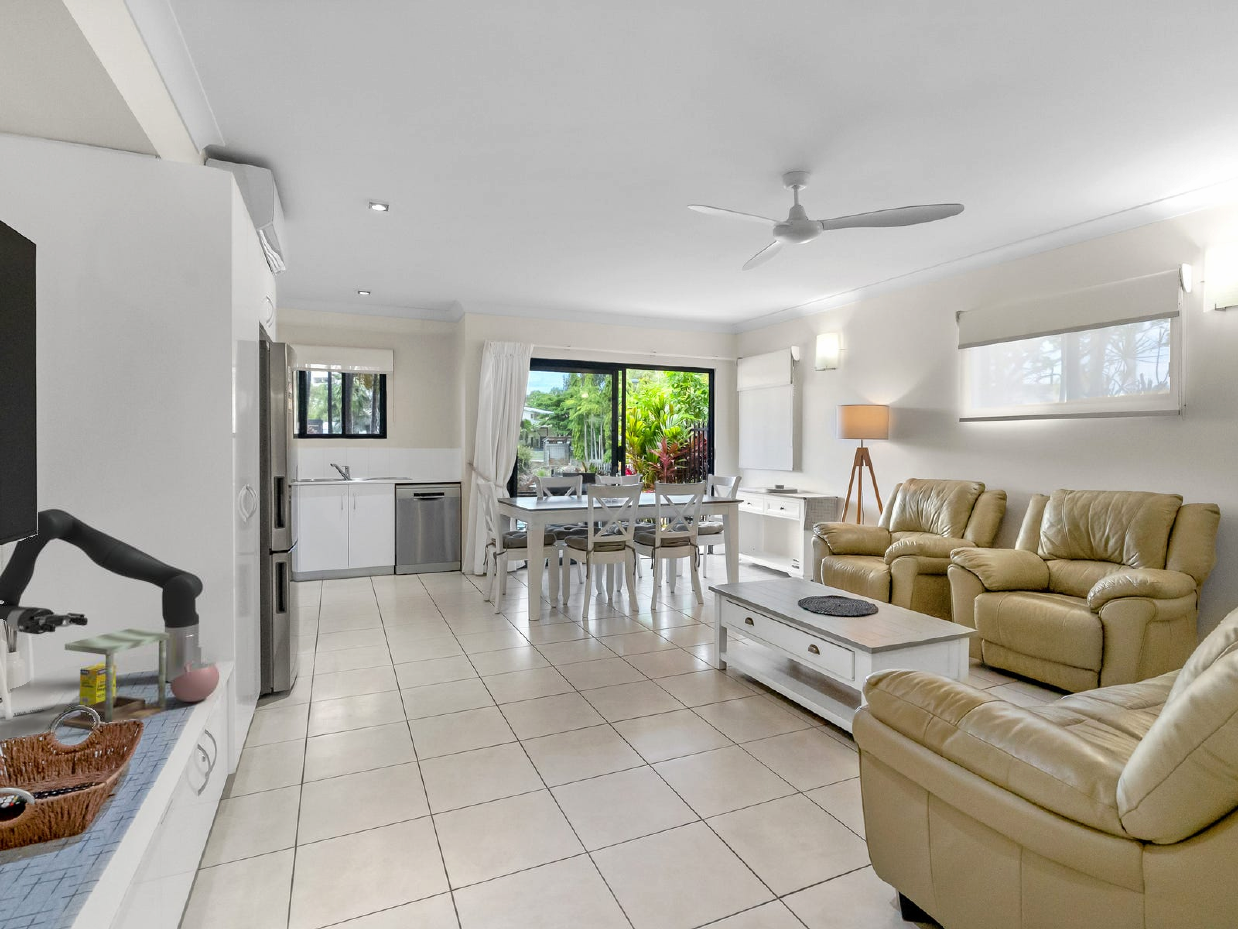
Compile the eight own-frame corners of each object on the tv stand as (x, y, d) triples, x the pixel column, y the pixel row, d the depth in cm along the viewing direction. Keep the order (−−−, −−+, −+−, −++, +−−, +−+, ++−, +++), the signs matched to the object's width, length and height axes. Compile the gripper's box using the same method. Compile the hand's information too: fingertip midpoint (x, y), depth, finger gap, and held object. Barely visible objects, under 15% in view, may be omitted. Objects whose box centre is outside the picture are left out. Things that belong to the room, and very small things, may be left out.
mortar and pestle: (202, 691, 199) (203, 653, 199) (227, 697, 193) (228, 659, 193) (160, 704, 188) (161, 664, 188) (186, 711, 183) (187, 670, 183)
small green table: (125, 702, 188) (126, 628, 188) (168, 709, 184) (169, 633, 184) (60, 725, 172) (62, 643, 172) (105, 733, 167) (106, 649, 167)
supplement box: (96, 709, 183) (96, 670, 183) (78, 707, 184) (79, 669, 184) (116, 702, 189) (116, 664, 189) (99, 700, 190) (99, 662, 190)
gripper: (3, 612, 187) (43, 617, 183) (57, 602, 201) (96, 607, 196) (2, 638, 187) (42, 644, 183) (57, 627, 201) (95, 632, 196)
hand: (70, 625), depth 190 cm, fingers open, 8 cm apart
